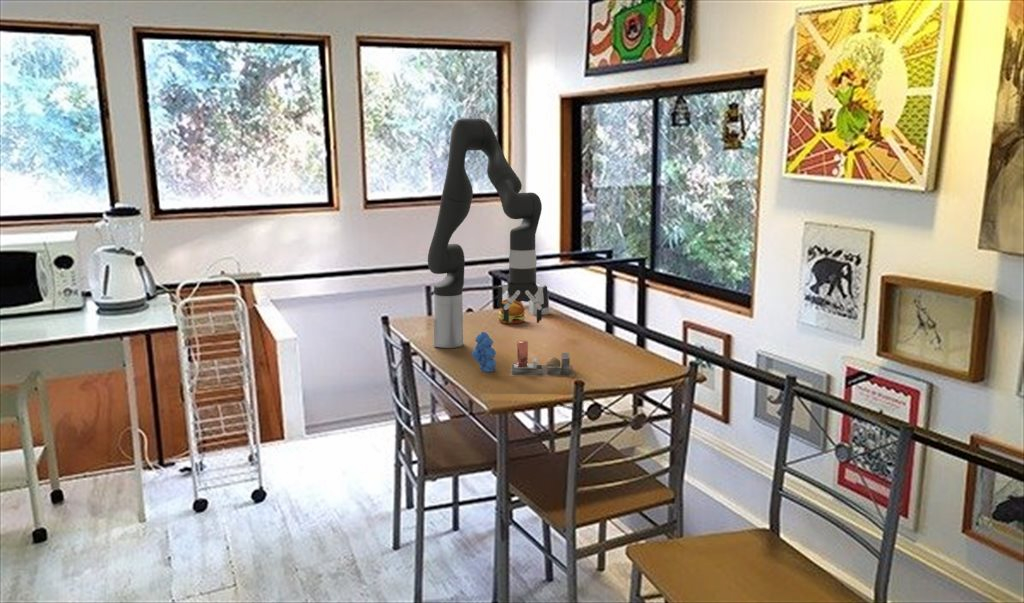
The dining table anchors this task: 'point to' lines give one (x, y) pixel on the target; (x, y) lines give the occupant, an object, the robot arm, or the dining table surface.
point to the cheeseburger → (513, 313)
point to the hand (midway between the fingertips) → (522, 322)
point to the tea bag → (540, 298)
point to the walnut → (553, 362)
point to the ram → (524, 357)
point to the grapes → (484, 352)
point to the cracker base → (547, 370)
